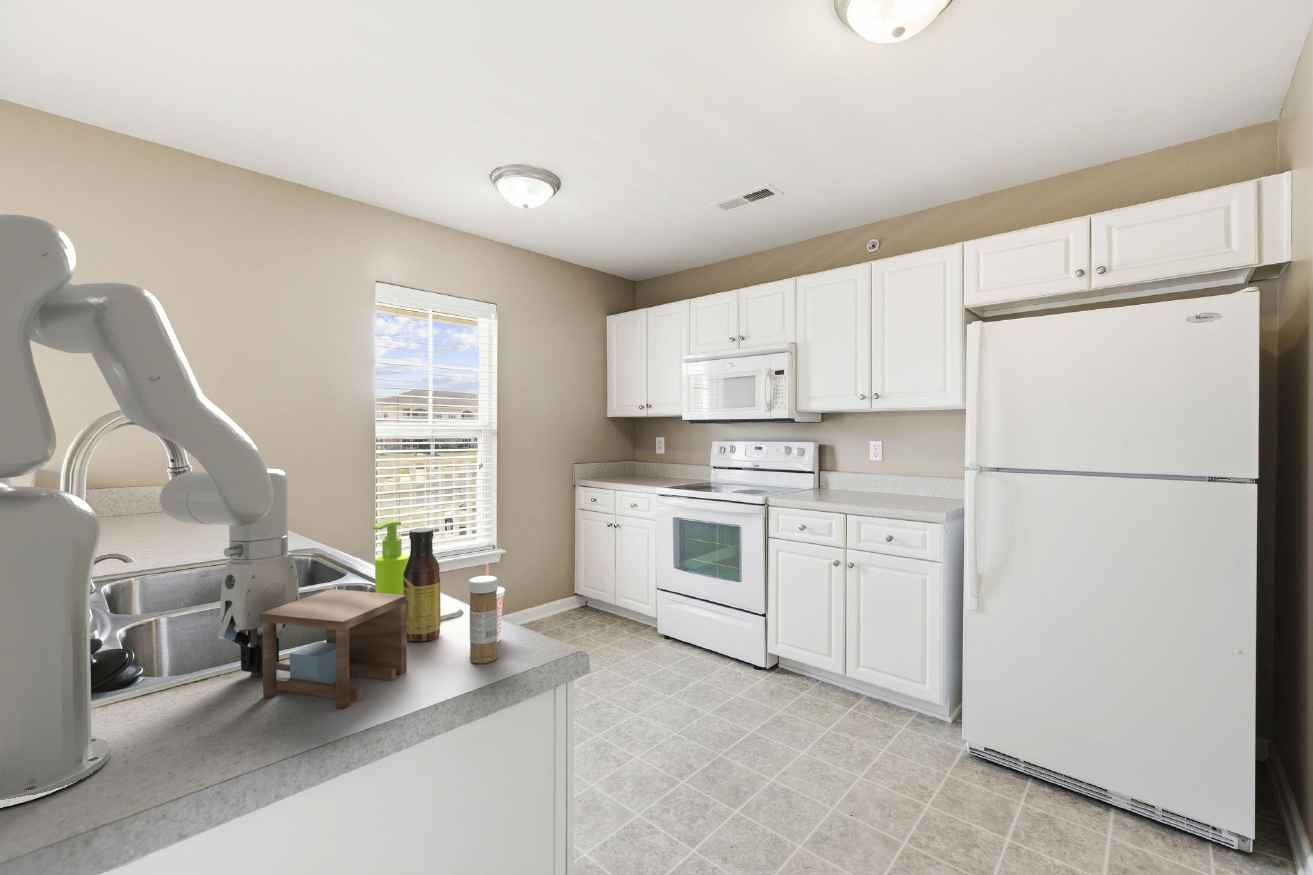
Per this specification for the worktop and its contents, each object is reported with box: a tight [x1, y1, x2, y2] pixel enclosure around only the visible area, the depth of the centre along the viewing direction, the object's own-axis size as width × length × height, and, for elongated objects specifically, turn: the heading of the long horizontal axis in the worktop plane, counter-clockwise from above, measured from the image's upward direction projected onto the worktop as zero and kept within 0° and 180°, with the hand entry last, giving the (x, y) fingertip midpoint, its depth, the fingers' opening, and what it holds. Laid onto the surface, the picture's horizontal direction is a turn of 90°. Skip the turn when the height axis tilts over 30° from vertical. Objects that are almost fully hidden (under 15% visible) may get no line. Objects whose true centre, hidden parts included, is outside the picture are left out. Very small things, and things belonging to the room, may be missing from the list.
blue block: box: [250, 631, 336, 684], centre depth 90 cm, size 5×15×6 cm, turn 74°
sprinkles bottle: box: [468, 575, 499, 664], centre depth 97 cm, size 5×5×14 cm
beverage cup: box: [469, 562, 505, 643], centre depth 106 cm, size 6×6×14 cm
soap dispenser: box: [371, 520, 409, 595], centre depth 114 cm, size 6×7×20 cm
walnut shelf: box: [260, 588, 408, 710], centre depth 88 cm, size 13×14×12 cm
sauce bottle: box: [403, 527, 442, 643], centre depth 107 cm, size 7×6×20 cm
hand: (260, 665), depth 92 cm, fingers closed on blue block, 2 cm apart
